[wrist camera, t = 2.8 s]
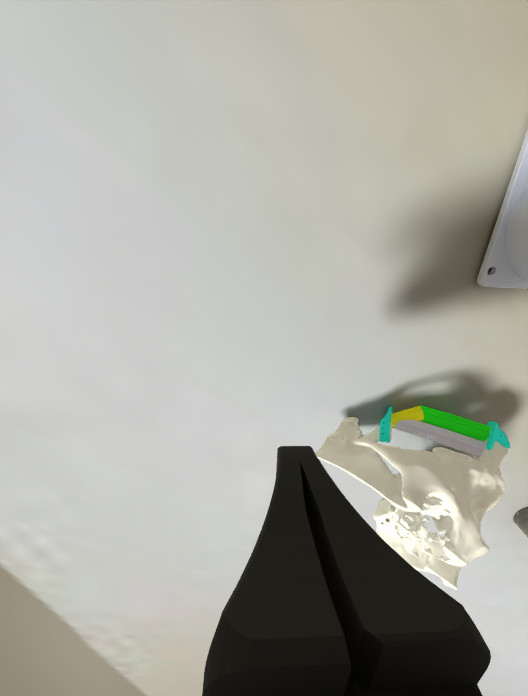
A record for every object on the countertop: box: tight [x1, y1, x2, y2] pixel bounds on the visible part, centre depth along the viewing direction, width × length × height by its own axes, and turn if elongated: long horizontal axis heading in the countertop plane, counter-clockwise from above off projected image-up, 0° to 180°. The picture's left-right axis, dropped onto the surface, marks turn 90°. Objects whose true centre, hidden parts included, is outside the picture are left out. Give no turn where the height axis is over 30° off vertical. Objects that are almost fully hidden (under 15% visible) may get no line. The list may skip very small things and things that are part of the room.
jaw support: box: [315, 405, 510, 590], centre depth 22 cm, size 12×9×10 cm
